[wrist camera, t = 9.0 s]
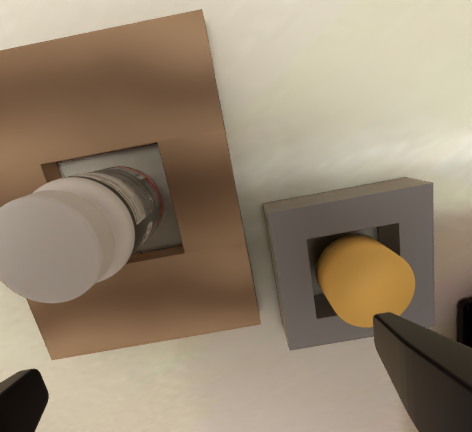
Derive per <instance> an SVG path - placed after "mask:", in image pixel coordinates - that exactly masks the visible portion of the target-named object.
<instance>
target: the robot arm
mask: <svg viewBox="0 0 472 432" xmlns="http://www.w3.org/2000/svg"><path fill="white" fill-rule="evenodd" d="M468 306H469V307H468ZM467 307H468V308H467ZM373 330H374V342H375V346H376V349H377V352H378V354H379V356H380V358H381V360H382V362H383V364H384V366H385V368H386V370H387V372H388V374H389V376H390V378H391V380H392V383H393V385H394V387H395V389H396V391H397V393H398V395H399V397H400V399H401V401H402V403H403V405H404V407H405V409H406V411H407V412H408V414H409V416H410V418H411V419H412V421H413V423H414V425H415V426H416V428H417V429H418V431H419V432H472V298H471V299H465V300H463V301H462V302H461V303H460V304H459V320H458V342H456V341H454V340H452V339H450V338H447V337H445V336H443V335H441V334H438V333H436V332H434V331H432V330H430V329H427V328H425V327H423V326H421V325H418V324H416V323H414V322H412V321H409V320H407V319H405V318H403V317H400V316H398V315H396V314H394V313H391V312H385V313H379V314H375V315H374V316H373ZM48 398H49V394H48V390H47V388H46V386H45V383H44V381H43V378H42V376H41V374H40V372H39V371H38V370H37V369H29V370H23V371H19V372H17V373H16V374H14V375H12V376H11V377H9V378H7V379H6V380H4V381H2V382H1V383H0V432H35V430H36V428H37V425H38V423H39V421H40V419H41V416H42V414H43V412H44V410H45V407H46V405H47V402H48Z"/></svg>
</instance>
